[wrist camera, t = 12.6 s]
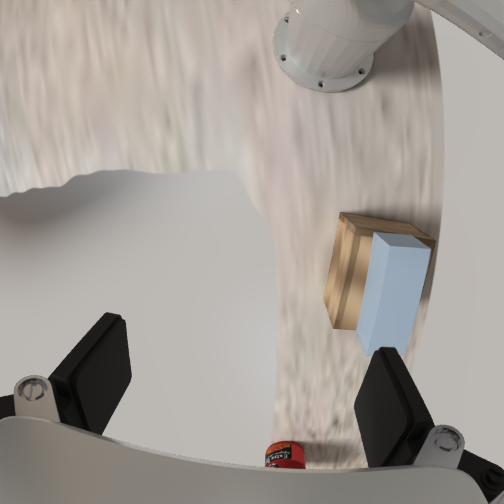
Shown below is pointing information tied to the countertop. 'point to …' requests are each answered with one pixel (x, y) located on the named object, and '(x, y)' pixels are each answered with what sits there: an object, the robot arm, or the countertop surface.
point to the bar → (392, 291)
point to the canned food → (285, 456)
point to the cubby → (358, 264)
